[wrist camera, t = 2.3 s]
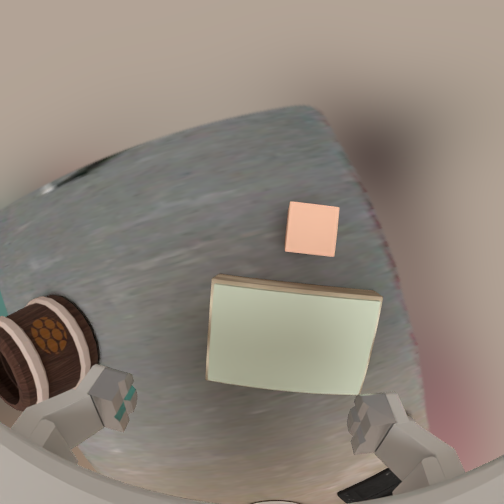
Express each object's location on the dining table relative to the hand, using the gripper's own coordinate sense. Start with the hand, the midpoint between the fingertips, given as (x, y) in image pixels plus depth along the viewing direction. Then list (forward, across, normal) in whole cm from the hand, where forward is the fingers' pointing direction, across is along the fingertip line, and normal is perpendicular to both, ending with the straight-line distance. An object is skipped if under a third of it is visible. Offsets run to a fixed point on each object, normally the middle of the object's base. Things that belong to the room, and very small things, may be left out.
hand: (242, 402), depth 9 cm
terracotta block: (+24, +5, +1) cm, 25 cm away
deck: (+21, +5, -11) cm, 24 cm away
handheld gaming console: (+13, +24, -40) cm, 49 cm away
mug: (+22, -28, -21) cm, 41 cm away
